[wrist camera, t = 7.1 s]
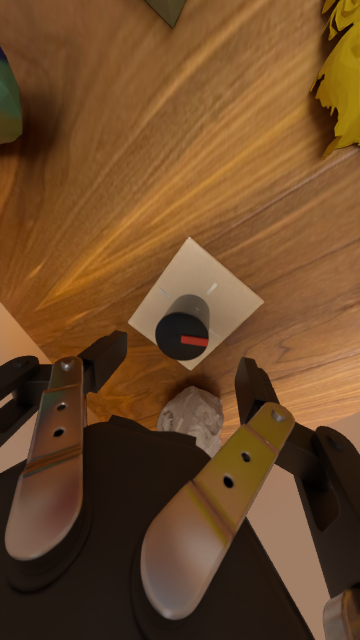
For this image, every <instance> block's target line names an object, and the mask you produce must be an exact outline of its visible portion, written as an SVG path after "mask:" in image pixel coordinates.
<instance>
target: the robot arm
mask: <svg viewBox="0 0 360 640" xmlns="http://www.w3.org/2000/svg"><path fill="white" fill-rule="evenodd" d="M126 354H127V333H126V332H122V331H117V330H115V331H114V332H113V333H111V334H110V335H109V336H104V337H102V338H100V339H98V340H97V341H96V342H95V343H93V344H92V345H91V346H89V347H88V348H87V349H85V350H84V351H83V352H81V353H80V354H79V355H78V356H76V357H75V356H70V357H65V358H62V359H59V360H58V361H56V362H55V363H54V364H39V360H38V358H37V357H35V356H22V357H18V358H15V359H12V360H10V361H8V362H7V363H5V364H3V365H2V366H0V401H1V400H2V399H3V398H5V397H6V396H7V395H9V394H10V393H12V396H13V399H12V400H10V401H9V402H8V403H6V404H5V405H4V406H3V407H2V408H0V447H1V446H2V445H3V444H4V443H5V442H6V441H7V440H8V439H9V438H10V437H11V436H12V435H13V434H14V433H15V432H16V431H17V430H18V429H19V428H20V427H21V426H22V425H23V424H24V423H25V422H26V421H27V420H28V419H30V418H31V417H32V416H33V414H35V413H36V412H37V411H38V414H37V419H36V423H35V428H34V432H33V436H32V441H31V445H30V449H29V453H28V458H27V459H25V460H24V461H22V462H20V463H18V464H16V465H15V466H13V467H11V468H9V469H7V470H5V471H4V472H2V473H0V640H315V639H314V637H313V635H312V633H311V631H310V629H309V627H308V625H307V624H306V622H305V620H304V618H303V617H302V615H301V613H300V611H299V609H298V608H297V606H296V604H295V602H294V600H293V599H292V597H291V595H290V593H289V592H288V590H287V588H286V586H285V585H284V583H283V581H282V579H281V577H280V576H279V574H278V572H277V570H276V568H275V567H274V565H273V563H272V561H271V560H270V558H269V556H268V555H267V552H266V551H265V549H264V547H263V545H262V544H261V542H260V540H259V538H258V537H257V535H256V533H255V531H254V529H253V528H252V526H251V524H250V522H249V520H248V519H247V517H246V515H247V513H248V511H249V509H250V507H251V505H252V503H253V502H254V500H255V498H256V496H257V494H258V492H259V491H260V489H261V487H262V485H263V483H264V481H265V479H266V478H267V476H268V474H269V472H270V470H271V468H272V466H273V464H276V465H278V466H280V467H281V468H283V469H285V470H286V471H288V472H290V473H291V474H293V475H294V478H295V482H296V485H297V488H298V492H299V495H300V498H301V502H302V505H303V508H304V511H305V515H306V518H307V522H308V525H309V528H310V531H311V535H312V538H313V542H314V545H315V548H316V552H317V555H318V558H319V562H320V565H321V568H322V572H323V575H324V578H325V582H326V585H327V588H328V592H329V595H330V598H331V599H330V600H329V601H328V602H327V603H326V604H325V606H324V610H323V626H324V632H325V637H326V640H360V454H359V453H358V451H357V450H356V448H355V447H354V445H353V444H352V443H351V442H350V441H349V440H348V439H347V438H346V437H345V436H344V435H342V434H341V433H339V432H338V431H336V430H334V429H332V428H330V427H326V426H319V427H318V428H317V429H316V431H313V430H311V429H309V428H307V427H305V426H303V425H300V424H299V423H297V422H295V419H294V417H293V415H292V414H291V413H290V412H289V411H288V410H287V409H286V408H285V407H283V406H282V405H280V403H279V401H278V398H277V396H276V393H275V391H274V389H273V387H272V384H271V382H270V379H269V377H268V375H267V374H266V372H265V371H264V370H263V369H261V368H258V367H257V364H256V362H255V360H254V359H251V358H246V357H242V358H241V360H240V363H239V367H238V370H237V373H236V376H235V390H236V397H237V404H238V410H239V417H240V424H241V426H240V427H239V428H238V430H237V431H236V432H235V433H234V434H233V435H232V436H231V437H230V439H229V440H228V441H227V442H226V443H225V444H224V445H223V446H222V448H221V449H220V450H219V451H218V452H217V453H216V454H215V455H214V457H213V458H211V457H210V456H209V455H208V454H207V453H206V452H205V451H204V450H203V449H201V448H200V447H198V446H197V445H196V439H197V437H194V436H191V435H187V434H183V433H179V432H176V431H151V430H149V429H147V428H145V427H144V426H142V425H140V424H138V423H137V422H135V421H133V420H131V419H127V418H123V417H119V416H116V415H112V416H111V418H110V420H109V421H108V422H99V423H95V424H92V425H89V426H88V425H87V400H86V395H87V394H88V392H93V393H97V392H98V391H99V390H100V389H101V387H102V386H103V385H104V384H105V383H106V381H107V380H108V379H109V378H110V376H111V375H112V374H113V373H114V372H115V370H116V369H117V368H118V367H119V365H120V364H121V363H122V362H123V361H124V359H125V357H126Z"/></svg>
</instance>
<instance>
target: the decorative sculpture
mask: <svg viewBox="0 0 360 640" xmlns="http://www.w3.org/2000/svg"><path fill="white" fill-rule="evenodd" d="M19 136H21V138H22V111H21V103H20V95H19V87H18V84H17V82H16V79H15V77H14V75H13V72H12V70H11V67H10V65H9V63H8V60H7V58H6V55H5V54H4V52H3V50H2V48H1V47H0V145H1V144H3V143H9V142H13V141H14V140H15V139H16V138H18V137H19Z"/></svg>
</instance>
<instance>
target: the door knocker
mask: <svg viewBox="0 0 360 640" xmlns="http://www.w3.org/2000/svg"><path fill="white" fill-rule="evenodd" d="M335 1H336V0H326V1H325V5H324V8H323V11H322V14H323V13H325V12H326V11H327V10H328V9H329V8H330V7H331V5H332V4H333V3H334V2H335ZM335 13H336V18H335V21H336V24H337V28H338V30H339V31H341V30H342V29H344V28H345V27H347V26H348V25H349V24H351V23H353V24H354V25H353V26H352V27H351V28H350V29H349V30H348V31H347V32H346V33H345V35H344V36H343V37H342V38H341V39H340V41H339V42H338V44H337V45H336V47H335V48H334V50H333V51H332V52H331V54H330V55H329V57H328V58H327V60H326V61H325V63H324V65H323V67H322V68H321V70H320V72H319V74H318V75H319V76H318V75H317V77H318V80H319V79H320V78H321V77H322V75H323V74H325V77H324V80H322V81H321V84H320V87H319V88H318V91H317V95H316V98H315V99H320V102H321V104H322V106H323V107H325V106H327V109H328V108H329V106H331V107H332V108H331V115H332V113H333V110H334V107H336V108H337V109H338V112H339V115H338V120H339V121H338V122H337V124H336V126H335V128H334V130H335V136H338V137H337V138H336V139H334V140H333V141H332V142H331V143H330V144H329V145H328V147H327V149H326V151H325V153H324V156H323V159H322V160H323V161H324V160H325V158H326V157H327V156H329V155H330V154H331V153H332V151H333V150H334V149H337V148H342V147H346V146H349V145H351V144H353V143H355V142H359V144H358V145H359V146H360V0H340V1H339V2H338V4H337V6H336V7H335V9H334V10H333V12H332V14H331V16H330V18H331V21H330V35H329V41H330V40H331V39H332V38H333V37H334V36H335V35H336V34H337V32H336V31H335V30H334V29H333V27H332V26H331V24H332V19H333V17H334V15H335ZM330 18H329V20H330ZM329 20H328V22H329ZM328 22H327V24H328ZM327 24H326V26H327ZM325 29H326V27H325ZM325 29H324V31H325ZM324 31H323V32H324ZM317 77H316V79H315V80H314V82H313V84H312V87H311V89H310V92H311V91H312V89H313V87H314V85H315V83H316V80H317ZM318 80H317V81H318Z"/></svg>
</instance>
